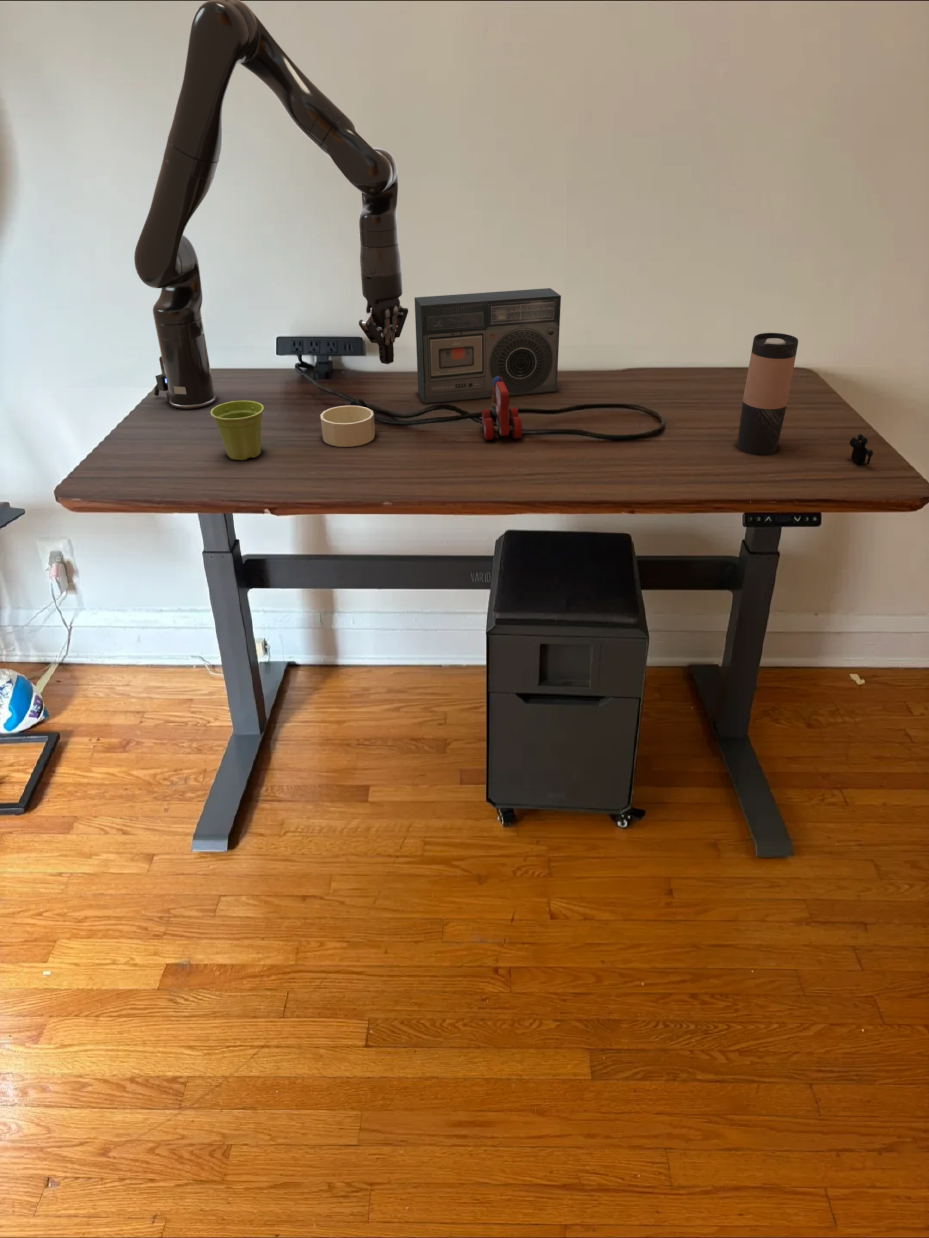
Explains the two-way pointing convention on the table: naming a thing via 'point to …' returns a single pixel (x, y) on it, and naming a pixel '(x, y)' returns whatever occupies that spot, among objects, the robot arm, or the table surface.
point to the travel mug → (766, 392)
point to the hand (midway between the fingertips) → (386, 362)
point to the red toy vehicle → (501, 414)
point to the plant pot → (240, 428)
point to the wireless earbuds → (860, 450)
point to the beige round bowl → (347, 426)
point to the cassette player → (487, 343)
